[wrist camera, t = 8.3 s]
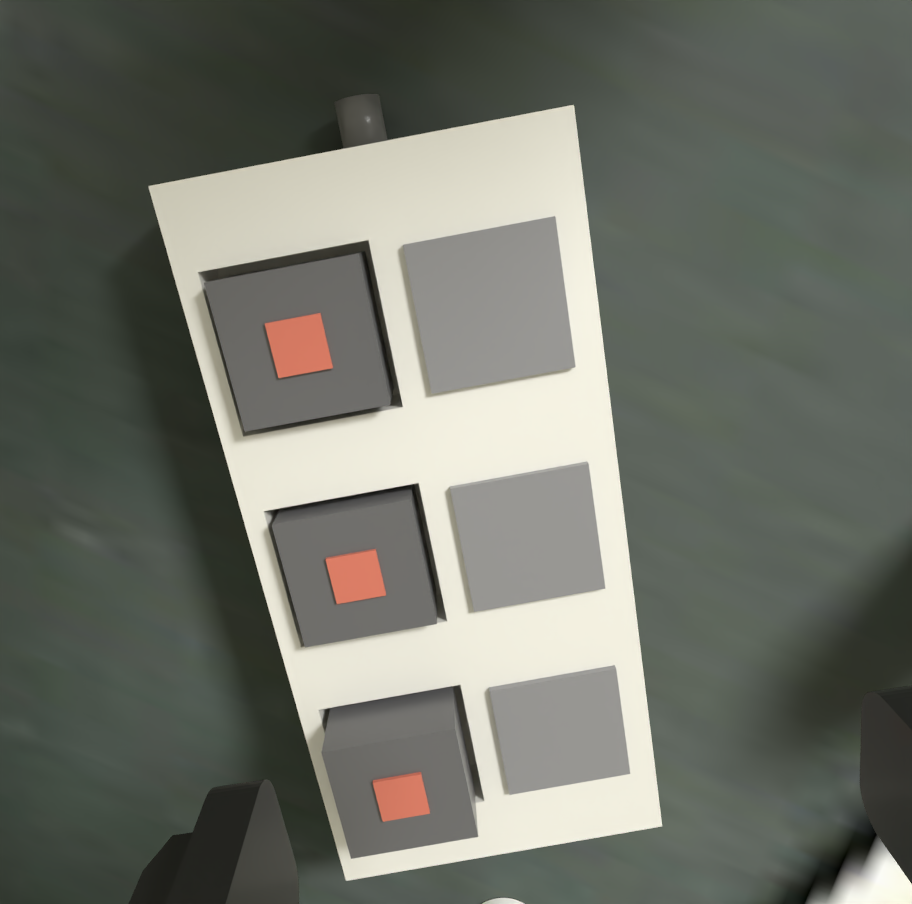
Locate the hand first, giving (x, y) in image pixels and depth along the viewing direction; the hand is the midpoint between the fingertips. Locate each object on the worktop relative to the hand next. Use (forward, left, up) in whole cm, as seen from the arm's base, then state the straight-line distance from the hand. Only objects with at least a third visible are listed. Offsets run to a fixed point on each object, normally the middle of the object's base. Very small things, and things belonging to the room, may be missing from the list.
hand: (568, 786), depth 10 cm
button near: (-5, -5, -16) cm, 17 cm away
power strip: (+3, -2, -18) cm, 18 cm away
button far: (+10, -5, -15) cm, 18 cm away
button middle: (+3, -5, -16) cm, 17 cm away
